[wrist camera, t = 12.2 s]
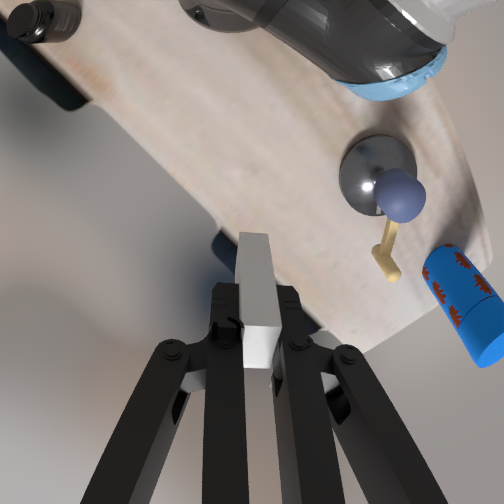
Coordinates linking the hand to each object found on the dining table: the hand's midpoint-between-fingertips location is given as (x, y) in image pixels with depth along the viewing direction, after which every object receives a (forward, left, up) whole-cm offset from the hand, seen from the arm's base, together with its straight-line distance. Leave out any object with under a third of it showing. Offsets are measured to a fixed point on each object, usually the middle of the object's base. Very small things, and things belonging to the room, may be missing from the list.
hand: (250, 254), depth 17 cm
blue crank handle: (+13, +21, -26) cm, 36 cm away
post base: (+9, +22, -32) cm, 40 cm away
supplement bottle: (-23, -25, -32) cm, 47 cm away
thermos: (+30, +41, -32) cm, 60 cm away
